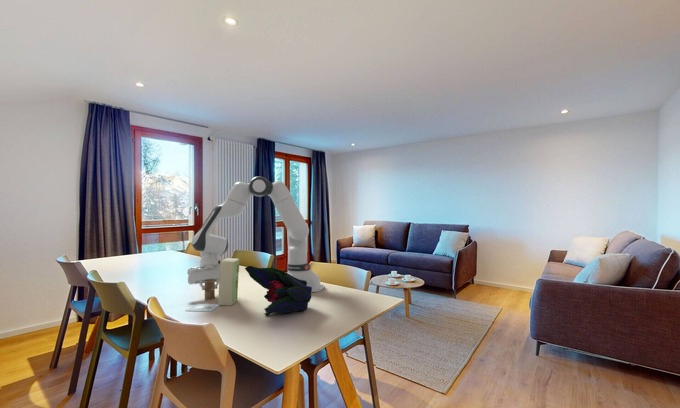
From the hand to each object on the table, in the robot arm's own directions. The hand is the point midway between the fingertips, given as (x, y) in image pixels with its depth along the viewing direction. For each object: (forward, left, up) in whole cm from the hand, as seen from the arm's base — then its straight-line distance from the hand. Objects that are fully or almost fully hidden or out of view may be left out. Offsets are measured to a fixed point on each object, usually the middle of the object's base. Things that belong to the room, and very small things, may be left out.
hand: (209, 288), depth 152 cm
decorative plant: (-43, +9, -5) cm, 44 cm away
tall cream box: (-14, +4, -5) cm, 15 cm away
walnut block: (0, 0, -5) cm, 5 cm away
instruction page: (-7, +13, -5) cm, 15 cm away
